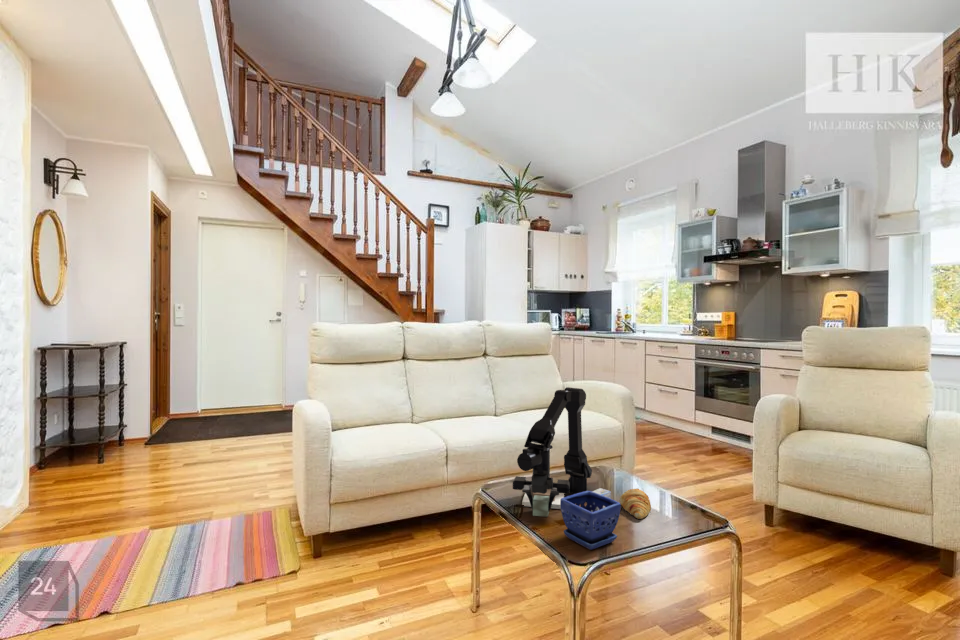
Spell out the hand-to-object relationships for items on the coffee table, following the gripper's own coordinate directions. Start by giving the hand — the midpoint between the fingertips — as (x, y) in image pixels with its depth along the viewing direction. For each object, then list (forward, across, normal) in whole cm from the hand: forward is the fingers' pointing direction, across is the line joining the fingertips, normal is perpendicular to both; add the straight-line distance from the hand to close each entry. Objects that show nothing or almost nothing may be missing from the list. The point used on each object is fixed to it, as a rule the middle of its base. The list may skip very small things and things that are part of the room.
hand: (541, 510), depth 165 cm
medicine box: (+1, +19, 0) cm, 19 cm away
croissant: (+2, +31, +11) cm, 33 cm away
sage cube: (+1, 0, 0) cm, 1 cm away
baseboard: (+1, 0, +12) cm, 12 cm away
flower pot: (+1, +16, -17) cm, 23 cm away
